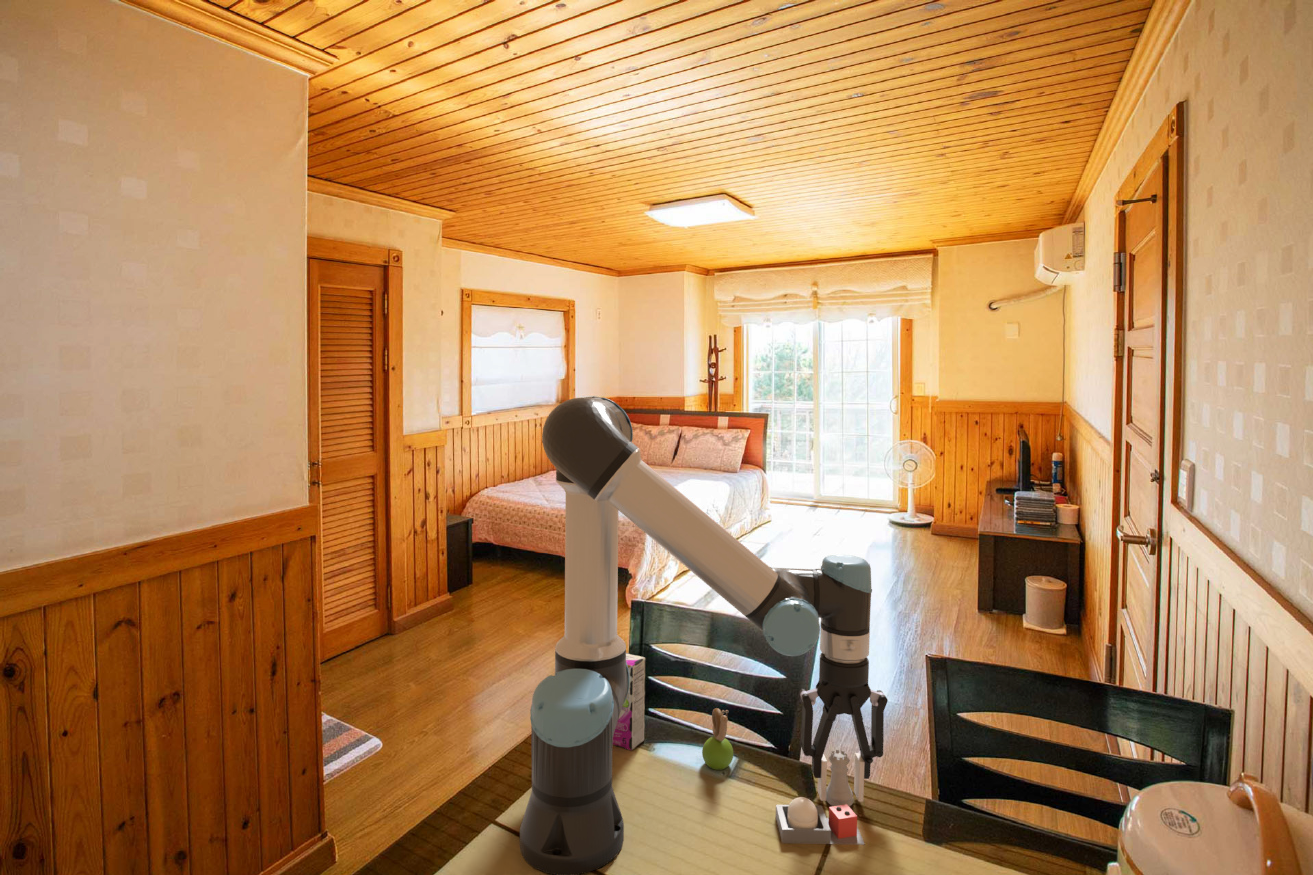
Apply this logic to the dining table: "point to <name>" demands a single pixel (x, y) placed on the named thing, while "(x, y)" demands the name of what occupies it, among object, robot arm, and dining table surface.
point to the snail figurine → (718, 743)
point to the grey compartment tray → (822, 827)
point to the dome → (802, 814)
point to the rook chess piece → (839, 780)
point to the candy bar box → (632, 707)
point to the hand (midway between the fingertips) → (840, 795)
